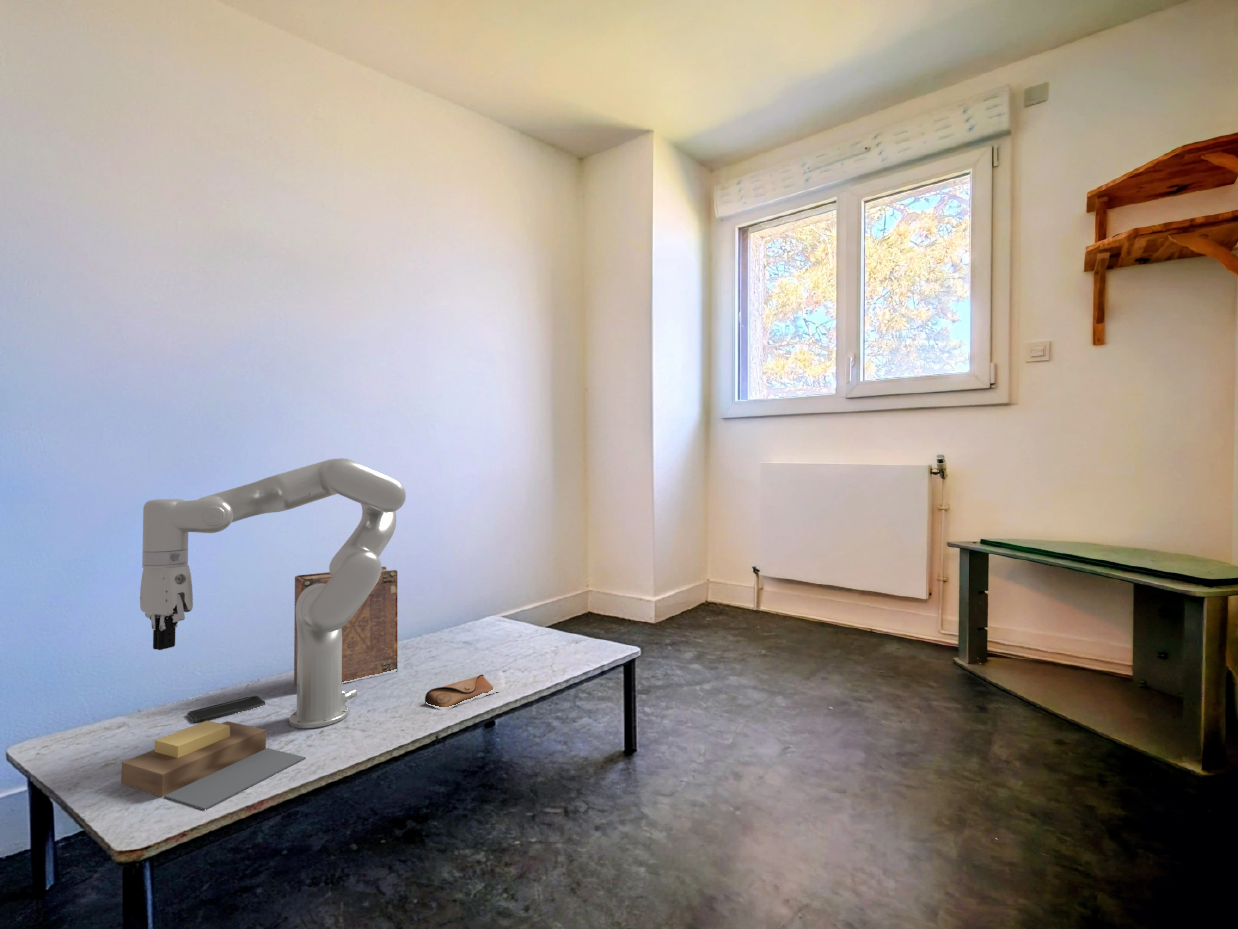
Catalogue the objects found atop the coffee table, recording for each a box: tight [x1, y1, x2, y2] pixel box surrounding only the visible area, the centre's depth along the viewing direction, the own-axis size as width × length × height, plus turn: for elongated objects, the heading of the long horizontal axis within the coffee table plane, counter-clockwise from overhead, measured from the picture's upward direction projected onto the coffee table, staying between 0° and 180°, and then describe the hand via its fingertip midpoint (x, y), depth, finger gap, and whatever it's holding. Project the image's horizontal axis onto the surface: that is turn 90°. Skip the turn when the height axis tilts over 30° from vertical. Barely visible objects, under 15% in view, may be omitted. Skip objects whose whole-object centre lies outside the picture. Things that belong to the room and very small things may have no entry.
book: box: [293, 566, 398, 686], centre depth 168 cm, size 25×9×30 cm, turn 132°
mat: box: [163, 747, 307, 811], centre depth 113 cm, size 20×11×1 cm, turn 158°
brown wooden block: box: [120, 720, 267, 798], centre depth 117 cm, size 20×12×4 cm, turn 158°
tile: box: [154, 720, 230, 758], centre depth 118 cm, size 10×7×2 cm
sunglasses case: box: [424, 674, 494, 707], centre depth 153 cm, size 18×7×7 cm
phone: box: [186, 695, 266, 724], centre depth 145 cm, size 8×1×15 cm
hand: (164, 647), depth 122 cm, fingers closed
